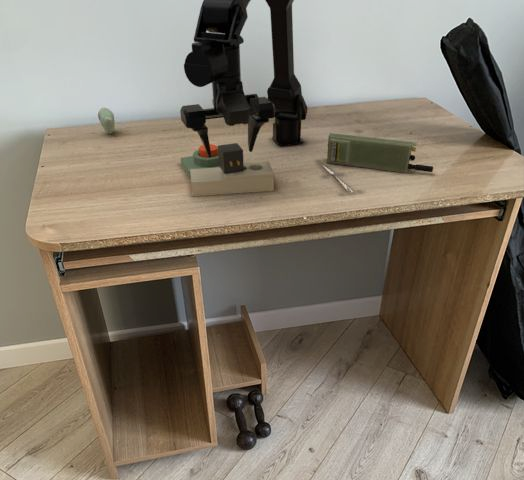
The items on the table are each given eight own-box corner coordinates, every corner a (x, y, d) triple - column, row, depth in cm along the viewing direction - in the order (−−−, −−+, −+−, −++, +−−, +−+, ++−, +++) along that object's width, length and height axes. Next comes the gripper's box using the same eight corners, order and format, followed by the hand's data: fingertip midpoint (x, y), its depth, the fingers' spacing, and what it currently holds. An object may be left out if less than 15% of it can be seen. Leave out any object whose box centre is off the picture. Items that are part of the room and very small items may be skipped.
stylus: (326, 156, 124) (359, 188, 111) (326, 160, 125) (359, 192, 111) (311, 159, 124) (342, 191, 110) (311, 163, 124) (342, 195, 111)
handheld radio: (329, 158, 126) (432, 171, 119) (325, 164, 123) (431, 177, 117) (330, 131, 121) (438, 143, 114) (327, 136, 119) (437, 149, 112)
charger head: (237, 163, 113) (237, 142, 110) (245, 173, 109) (244, 151, 106) (219, 166, 112) (217, 145, 109) (226, 176, 108) (224, 154, 105)
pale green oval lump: (117, 137, 138) (112, 111, 133) (102, 139, 137) (96, 113, 133) (116, 128, 144) (111, 102, 139) (101, 129, 143) (96, 104, 139)
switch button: (215, 150, 122) (214, 143, 121) (220, 157, 119) (219, 149, 118) (197, 153, 121) (196, 145, 120) (202, 159, 118) (201, 152, 117)
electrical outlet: (189, 165, 113) (269, 160, 115) (191, 182, 116) (269, 177, 118) (190, 178, 108) (274, 172, 110) (192, 196, 111) (273, 190, 112)
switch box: (228, 157, 127) (227, 143, 124) (239, 171, 120) (238, 156, 118) (181, 164, 124) (179, 150, 121) (189, 178, 117) (188, 164, 115)
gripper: (188, 89, 91) (196, 174, 101) (285, 79, 95) (284, 161, 106) (175, 74, 99) (184, 154, 109) (265, 65, 103) (266, 143, 113)
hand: (230, 154), depth 109 cm, fingers open, 9 cm apart
